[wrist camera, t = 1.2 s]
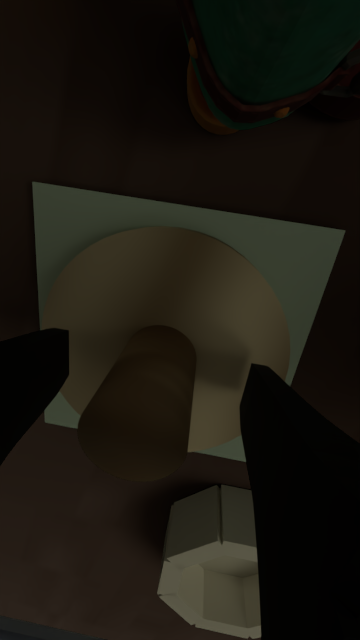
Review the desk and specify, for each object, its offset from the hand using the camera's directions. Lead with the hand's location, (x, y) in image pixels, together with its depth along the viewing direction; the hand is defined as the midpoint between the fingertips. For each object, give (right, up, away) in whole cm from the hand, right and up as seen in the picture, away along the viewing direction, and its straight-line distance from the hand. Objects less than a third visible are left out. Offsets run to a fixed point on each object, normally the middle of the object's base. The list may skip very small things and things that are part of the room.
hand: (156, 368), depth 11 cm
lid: (0, +1, +2) cm, 2 cm away
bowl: (+4, -12, +7) cm, 15 cm away
